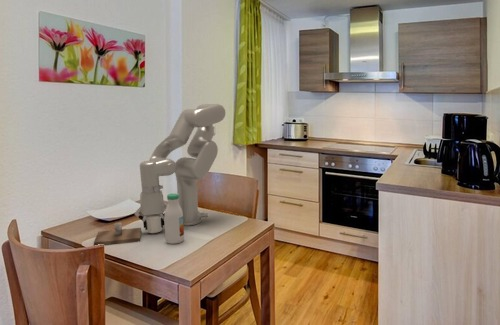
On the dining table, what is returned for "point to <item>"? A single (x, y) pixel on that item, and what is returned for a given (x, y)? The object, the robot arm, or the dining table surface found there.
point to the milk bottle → (173, 220)
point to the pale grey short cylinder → (153, 223)
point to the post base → (117, 239)
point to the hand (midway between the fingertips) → (154, 227)
